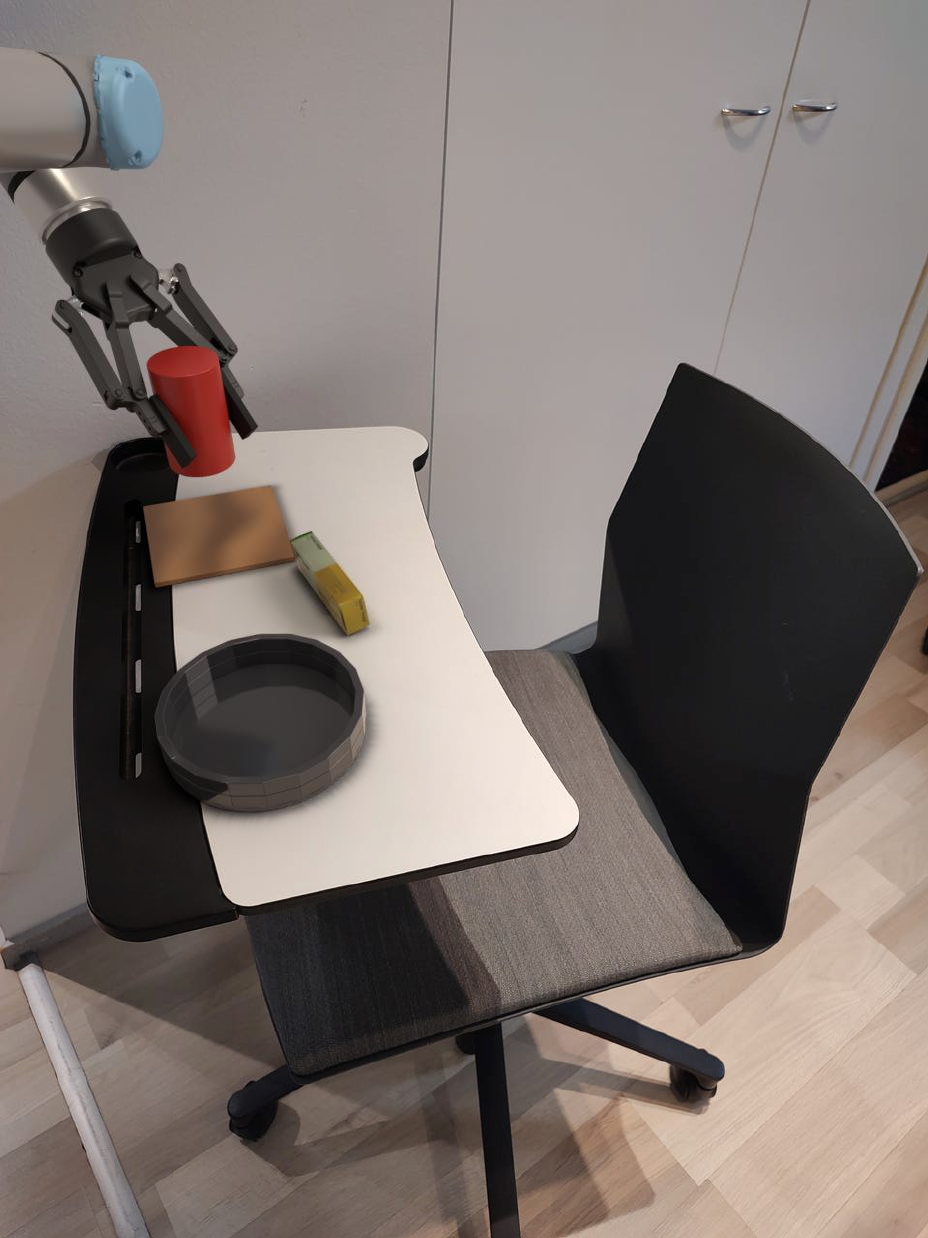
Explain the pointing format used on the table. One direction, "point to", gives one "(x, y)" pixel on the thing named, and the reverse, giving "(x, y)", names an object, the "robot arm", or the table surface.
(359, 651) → the table surface
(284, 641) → the pan
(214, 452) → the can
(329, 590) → the medication box
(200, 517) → the mat
